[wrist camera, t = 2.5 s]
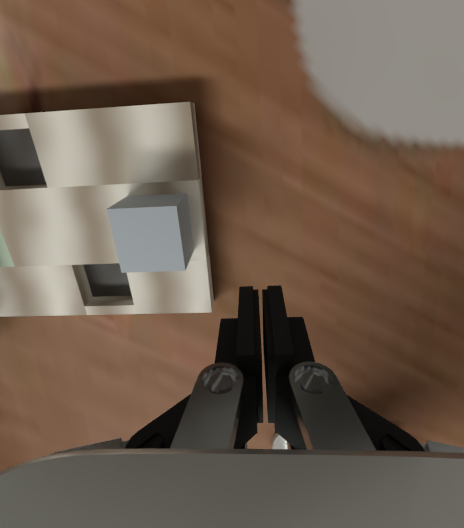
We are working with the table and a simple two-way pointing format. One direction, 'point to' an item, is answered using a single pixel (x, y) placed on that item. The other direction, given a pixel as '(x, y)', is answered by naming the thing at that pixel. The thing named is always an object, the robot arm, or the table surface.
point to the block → (152, 232)
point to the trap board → (95, 209)
